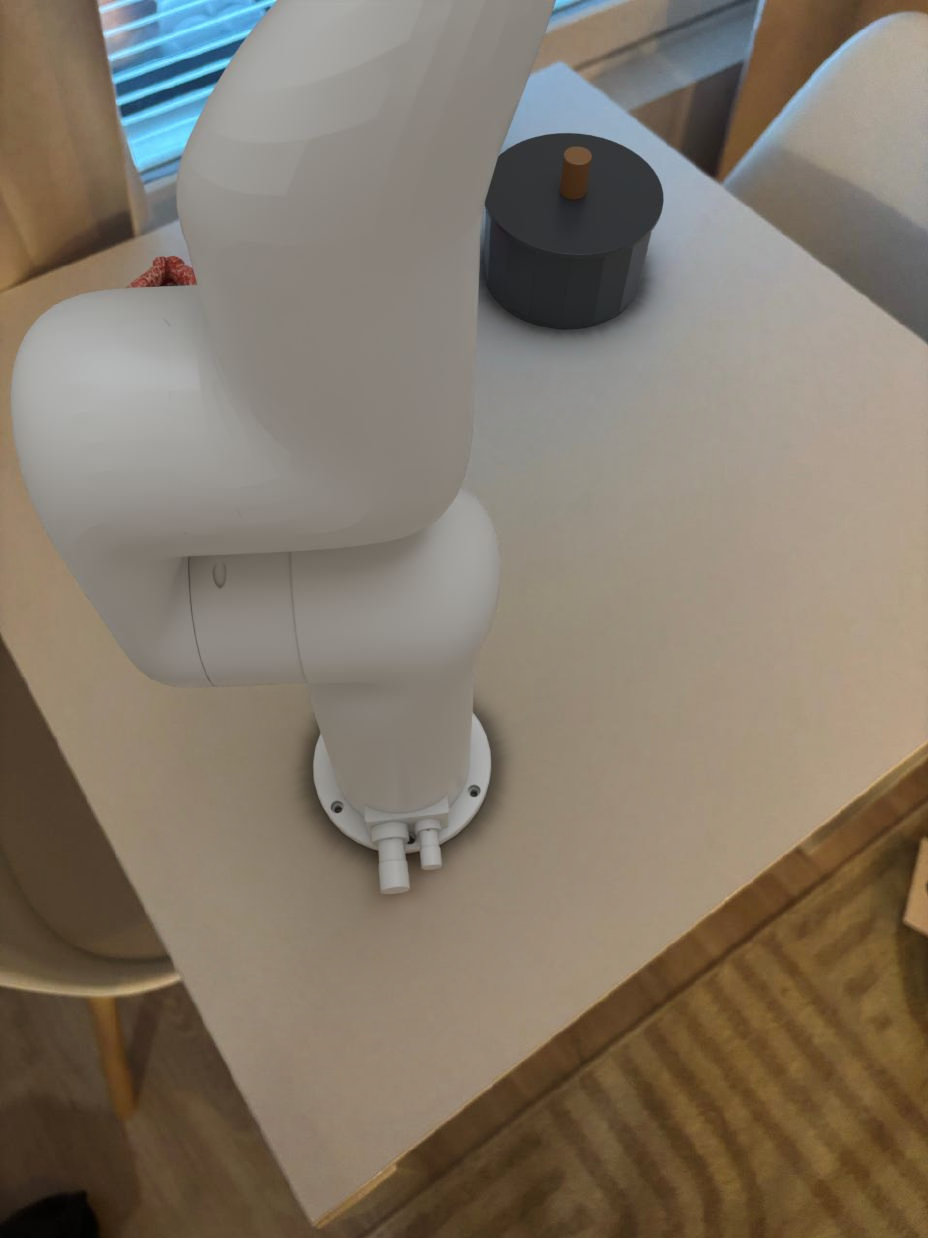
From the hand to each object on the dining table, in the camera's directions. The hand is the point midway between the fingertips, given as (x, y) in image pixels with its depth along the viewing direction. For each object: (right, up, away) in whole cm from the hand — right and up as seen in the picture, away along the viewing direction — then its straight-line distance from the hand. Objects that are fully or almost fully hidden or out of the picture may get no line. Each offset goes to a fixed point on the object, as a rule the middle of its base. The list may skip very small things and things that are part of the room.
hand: (370, 59), depth 70 cm
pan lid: (+17, -4, +13) cm, 22 cm away
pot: (+17, -8, +21) cm, 28 cm away
